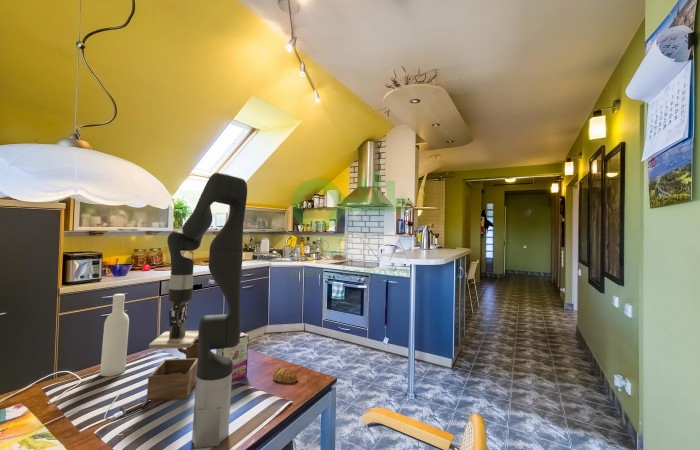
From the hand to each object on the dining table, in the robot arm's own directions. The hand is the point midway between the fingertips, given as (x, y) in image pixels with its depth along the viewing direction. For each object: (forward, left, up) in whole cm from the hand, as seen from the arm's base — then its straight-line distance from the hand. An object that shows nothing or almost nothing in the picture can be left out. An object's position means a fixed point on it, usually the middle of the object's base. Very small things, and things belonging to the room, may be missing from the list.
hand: (177, 335), depth 108 cm
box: (0, 0, -19) cm, 19 cm away
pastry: (+4, -38, -20) cm, 43 cm away
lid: (0, 0, -2) cm, 2 cm away
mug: (+23, +1, -19) cm, 30 cm away
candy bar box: (+6, -18, -19) cm, 27 cm away
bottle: (+17, +27, -19) cm, 37 cm away
